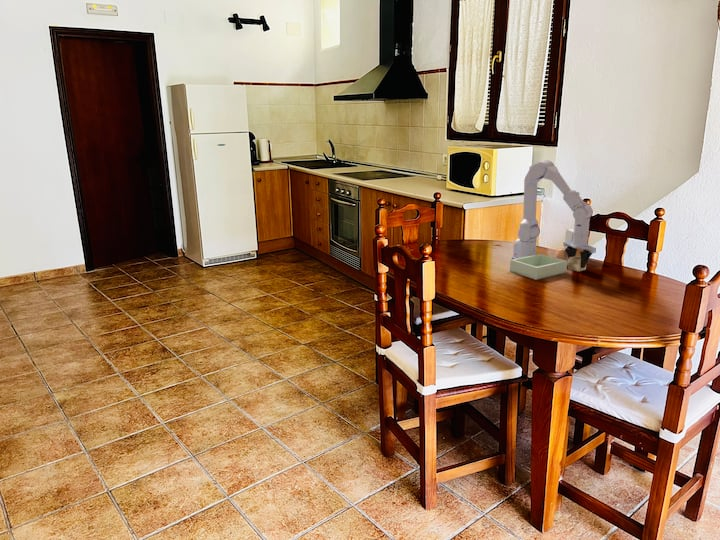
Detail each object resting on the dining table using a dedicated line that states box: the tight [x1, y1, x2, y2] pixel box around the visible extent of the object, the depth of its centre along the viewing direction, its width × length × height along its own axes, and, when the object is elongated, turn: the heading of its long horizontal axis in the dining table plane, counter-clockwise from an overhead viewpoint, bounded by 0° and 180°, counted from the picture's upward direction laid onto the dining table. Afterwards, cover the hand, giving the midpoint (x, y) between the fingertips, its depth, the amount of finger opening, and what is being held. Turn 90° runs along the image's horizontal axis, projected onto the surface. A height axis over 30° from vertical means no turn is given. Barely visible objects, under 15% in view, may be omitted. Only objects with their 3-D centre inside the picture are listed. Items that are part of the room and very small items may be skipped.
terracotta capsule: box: [555, 247, 569, 265], centre depth 234 cm, size 5×5×7 cm
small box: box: [563, 228, 590, 257], centre depth 244 cm, size 8×6×13 cm
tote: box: [509, 253, 568, 281], centre depth 224 cm, size 14×18×5 cm
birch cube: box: [567, 256, 587, 272], centre depth 228 cm, size 5×5×5 cm
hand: (577, 265), depth 228 cm, fingers closed on birch cube, 5 cm apart
